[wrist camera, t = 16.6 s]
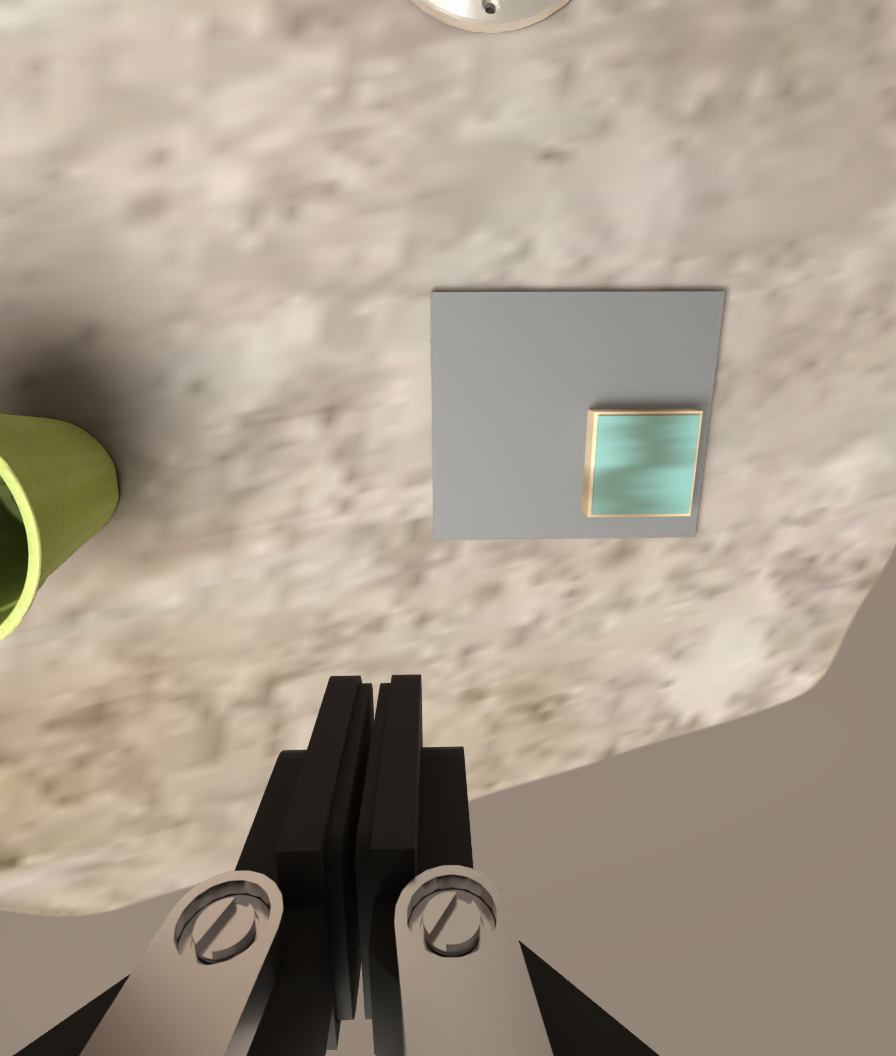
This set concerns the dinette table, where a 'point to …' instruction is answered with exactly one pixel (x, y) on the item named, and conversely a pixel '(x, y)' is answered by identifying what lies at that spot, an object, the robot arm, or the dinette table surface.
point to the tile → (640, 462)
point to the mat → (556, 402)
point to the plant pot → (46, 504)
